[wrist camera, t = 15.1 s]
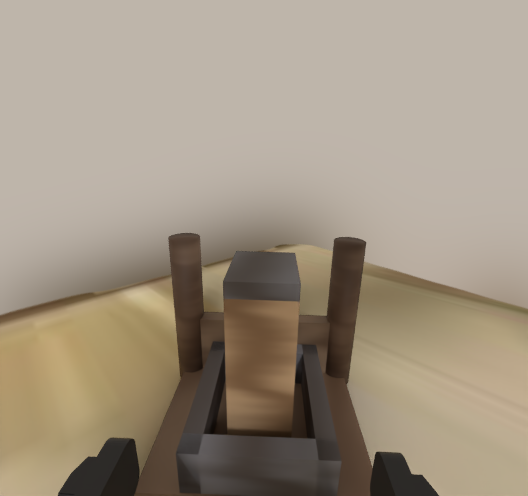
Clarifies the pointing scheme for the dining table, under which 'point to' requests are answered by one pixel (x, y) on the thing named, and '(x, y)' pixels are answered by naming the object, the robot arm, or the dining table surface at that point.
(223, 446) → the board
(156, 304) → the dining table surface
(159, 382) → the dining table surface
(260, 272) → the brown wooden block
